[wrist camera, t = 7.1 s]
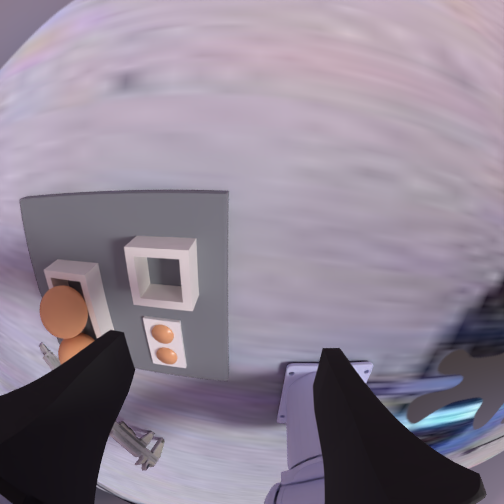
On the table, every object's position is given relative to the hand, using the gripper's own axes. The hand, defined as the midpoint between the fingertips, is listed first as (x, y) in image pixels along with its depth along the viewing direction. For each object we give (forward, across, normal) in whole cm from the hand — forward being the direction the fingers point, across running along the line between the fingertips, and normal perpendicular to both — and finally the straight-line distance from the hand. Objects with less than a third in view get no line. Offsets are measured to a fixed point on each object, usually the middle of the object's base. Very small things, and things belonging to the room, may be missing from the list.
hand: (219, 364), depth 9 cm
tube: (+9, +5, +1) cm, 11 cm away
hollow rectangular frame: (+9, +13, +6) cm, 17 cm away
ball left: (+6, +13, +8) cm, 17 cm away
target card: (+9, +6, +8) cm, 14 cm away
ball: (+6, +13, +4) cm, 15 cm away
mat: (+10, +10, +4) cm, 15 cm away
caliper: (+11, +17, +21) cm, 29 cm away
